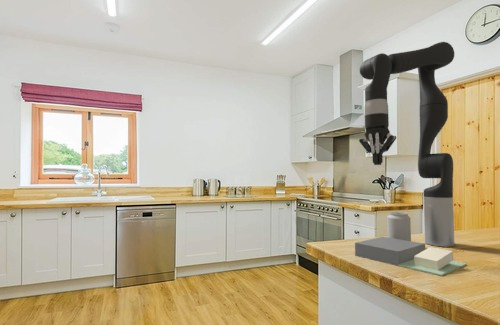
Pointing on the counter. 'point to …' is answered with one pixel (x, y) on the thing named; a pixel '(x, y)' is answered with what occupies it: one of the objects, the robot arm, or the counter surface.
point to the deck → (388, 250)
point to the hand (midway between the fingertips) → (377, 164)
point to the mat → (444, 270)
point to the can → (399, 226)
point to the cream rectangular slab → (433, 258)
